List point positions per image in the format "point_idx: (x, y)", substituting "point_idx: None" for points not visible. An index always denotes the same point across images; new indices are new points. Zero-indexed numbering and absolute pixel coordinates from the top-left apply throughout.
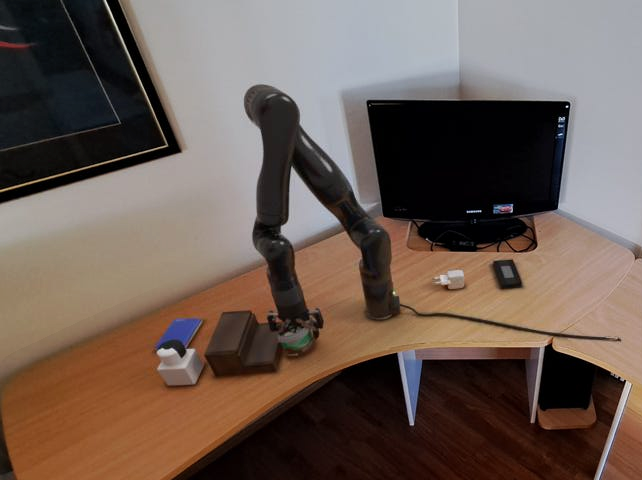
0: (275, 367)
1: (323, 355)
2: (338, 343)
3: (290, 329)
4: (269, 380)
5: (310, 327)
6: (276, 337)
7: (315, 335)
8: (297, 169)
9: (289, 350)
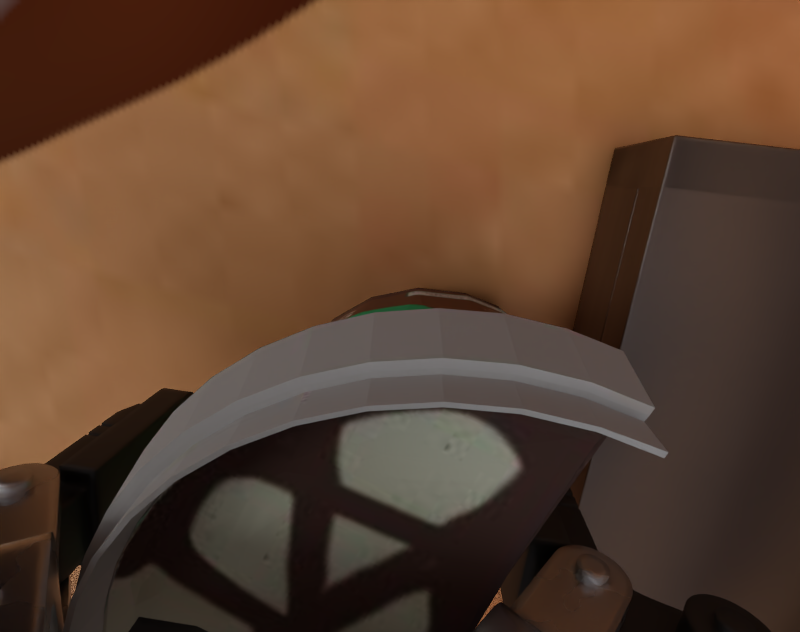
0: (621, 171)
1: (196, 254)
2: (89, 363)
3: (399, 573)
4: (681, 38)
5: (25, 530)
6: (606, 525)
7: (127, 417)
8: None
9: (472, 309)
